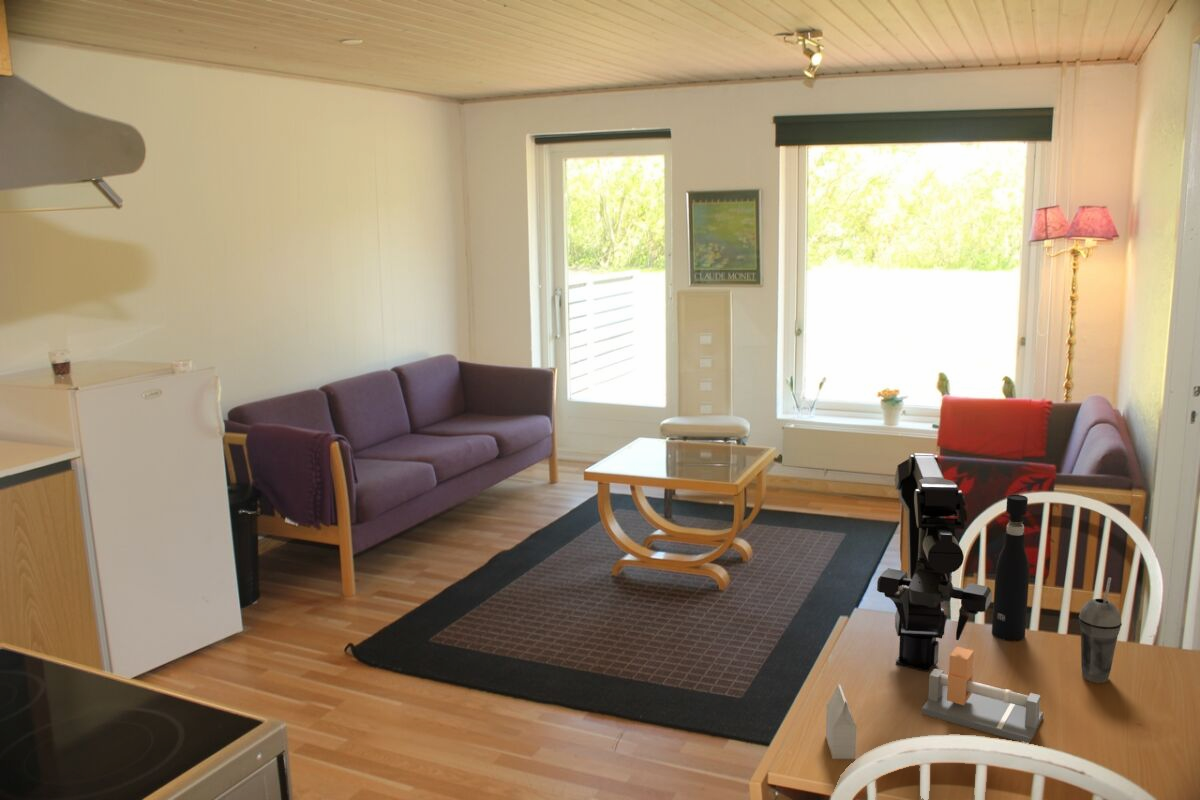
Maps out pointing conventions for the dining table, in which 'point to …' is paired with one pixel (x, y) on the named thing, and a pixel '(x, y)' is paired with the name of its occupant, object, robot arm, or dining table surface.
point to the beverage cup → (1098, 637)
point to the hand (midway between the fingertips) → (931, 633)
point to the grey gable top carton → (840, 727)
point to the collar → (959, 675)
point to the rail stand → (985, 708)
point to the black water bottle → (1012, 576)
